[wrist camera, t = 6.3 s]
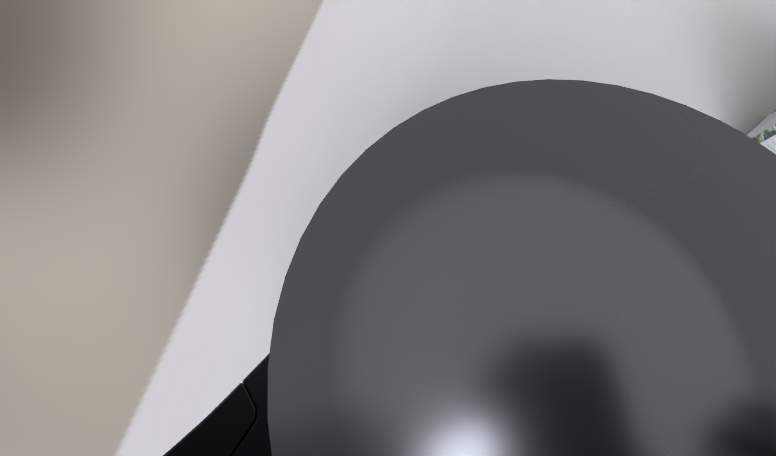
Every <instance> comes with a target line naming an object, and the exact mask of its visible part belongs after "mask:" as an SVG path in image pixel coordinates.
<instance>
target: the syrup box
mask: <svg viewBox="0 0 776 456" xmlns="http://www.w3.org/2000/svg"><path fill="white" fill-rule="evenodd" d="M747 136H748V137H750V138H752V139H754V140H755V141H757V142H758V143H760V144H761V145H763V146H764V147H766V148H767V149H769V150H770V151H772V152H773V153H775V154H776V110H775V111H773V112H772V113H771V114H770V115H768V116H767V117H766V118H765V119H764V120H763V121H762V122H760V123H759V124H758V125H757V126H756V127H755V128H754V129H753V130H752V131H750V132H749V133H748V134H747Z"/></svg>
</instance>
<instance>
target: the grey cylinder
mask: <svg viewBox="0 0 776 456" xmlns="http://www.w3.org/2000/svg"><path fill="white" fill-rule="evenodd" d="M268 427H269V435H270V444H271V453H272V456H776V154H775V153H773V152H772V151H770V150H769V149H767V148H766V147H764V146H763V145H761V144H760V143H758V142H757V141H755V140H754V139H752V138H750V137H748V136H747V135H745V134H743V133H741V132H739V131H738V130H736V129H734V128H732V127H731V126H729V125H727V124H725V123H723V122H722V121H719V120H717V119H715V118H713V117H711V116H708V115H706V114H704V113H702V112H699V111H697V110H695V109H693V108H691V107H688V106H686V105H683V104H680V103H677V102H674V101H671V100H668V99H666V98H663V97H660V96H657V95H654V94H651V93H647V92H642V91H638V90H634V89H630V88H626V87H622V86H617V85H611V84H603V83H596V82H589V81H579V80H551V79H548V80H534V81H520V82H512V83H507V84H501V85H496V86H490V87H485V88H481V89H478V90H475V91H471V92H468V93H465V94H462V95H458V96H455V97H452V98H450V99H447V100H445V101H443V102H441V103H438V104H436V105H434V106H432V107H429V108H427V109H425V110H423V111H421V112H419V113H418V114H416V115H414V116H413V117H411V118H409V119H408V120H406V121H404V122H403V123H401V124H399V125H398V126H396V127H394V128H393V129H392V130H390V131H389V132H388V133H387V134H385V135H384V136H383V137H382V138H380V139H379V140H378V141H377V142H375V143H374V144H373V145H371V146H370V147H369V148H368V149H366V150H365V152H364V153H363V154H362V155H361V156H360V157H359V158H358V159H357V160H356V161H355V162H354V163H353V164H352V165H351V166H350V167H349V168H348V169H347V170H346V171H345V172H344V173H343V174H342V175H341V177H340V178H339V179H338V181H337V182H336V183H335V185H334V186H333V187H332V189H331V190H330V191H329V193H328V194H327V195H326V197H325V198H324V199H323V201H322V202H321V203H320V205H319V207H318V209H317V210H316V212H315V214H314V216H313V217H312V219H311V221H310V223H309V225H308V226H307V228H306V230H305V232H304V234H303V235H302V237H301V239H300V242H299V244H298V246H297V249H296V251H295V254H294V256H293V259H292V261H291V264H290V266H289V269H288V271H287V274H286V276H285V280H284V284H283V288H282V291H281V295H280V299H279V303H278V307H277V311H276V314H275V318H274V324H273V332H272V340H271V347H270V355H269V362H268Z"/></svg>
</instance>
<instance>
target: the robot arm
mask: <svg viewBox="0 0 776 456" xmlns="http://www.w3.org/2000/svg"><path fill="white" fill-rule="evenodd" d="M269 355H270V353H269V354H268V355H267V356H266V357H265V358H264V359H263V360H262V361H261V363H260V364H259V365H258V366H257V367H256V368H255V369H254V370H253V371H252V372H251V373H250V374H249V375H248V376H247V377H246V378H245V379H244V380H243V383H240V384H239V385H238V386H237V387H236V388H235V389H234V390H233V391H232V392H231V393H230V394H229V395H228V396H227V397H226V398H225V399H224V400H223V401H222V402H221V403H220V404H219V405H218V406H217V407H216V408H215V409H214V410H213V411H212V412H211V413H210V414H209V415H208V416H207V417H206V418H205V419H204V420H203V421H202V422H201V423H199V424H198V425H197V426H196V427H195V428H194V429H193V430H192V431H191V432H189V433H188V434H187V435H186V436H185V437H184V438H183V439H182V440H181V441H179V442H178V443H177V444H176V445H175V446H174V447H173V448H171V449H170V450H169V451H168V452H167V453H166V454H164V455H163V456H272V453H271V444H270V435H269V427H268V362H269Z"/></svg>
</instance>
